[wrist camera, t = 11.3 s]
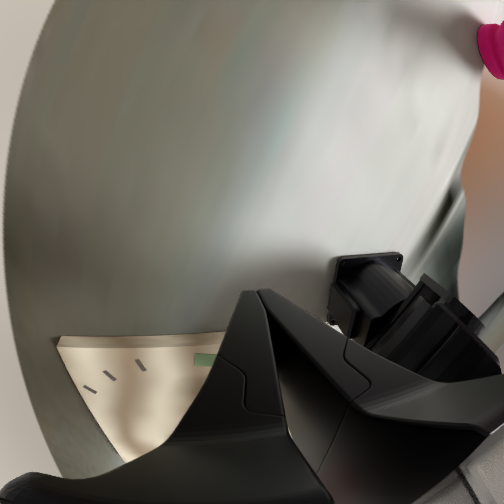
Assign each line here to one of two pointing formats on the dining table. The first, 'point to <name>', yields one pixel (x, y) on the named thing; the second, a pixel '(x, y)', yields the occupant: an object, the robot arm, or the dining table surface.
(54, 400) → the dining table surface
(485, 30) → the pepper mill
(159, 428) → the dial board
